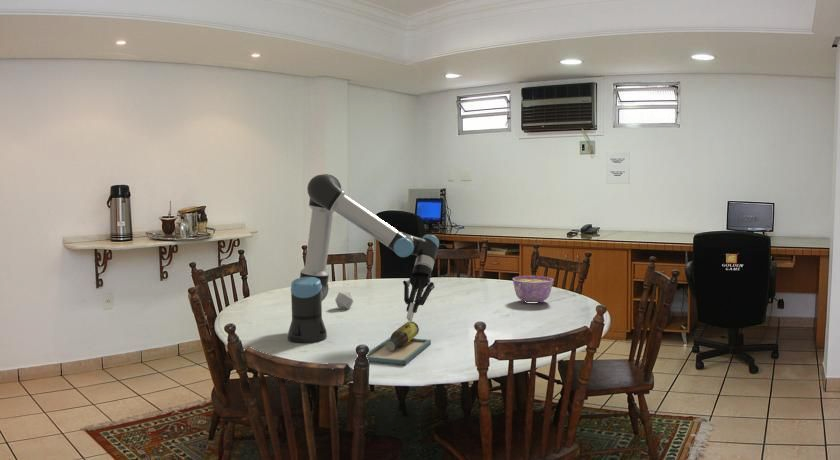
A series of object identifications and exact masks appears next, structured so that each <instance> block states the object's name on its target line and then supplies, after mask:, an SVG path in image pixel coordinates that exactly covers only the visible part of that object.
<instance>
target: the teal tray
mask: <svg viewBox="0 0 840 460" xmlns="http://www.w3.org/2000/svg"><path fill="white" fill-rule="evenodd" d="M390 339H391V336H389V338H387V339H386V340H384V341H383V342H381V343H379V344H378V345H376V346H375V347H374V348H372V349H370V350H369V351H368V352H369V354H368V355H367V358H368V360H369V362H368V363H372V364H379V365H380V364H381V365H391V366H392V365H393V366H401V367H402V366H403V367H405V366H407V365H408V364H409V363H410V362H412V361H413V360H414V359H415V358H416V357H418V356H419V355H420V354H421V353H422V352H424V351H425V350H426V349H427V348H428V347H429V346H430V345H431V344H432V342H431V341H432V340H431V339H425V338H415V337H414V338H413V339H412V340H410V341H409V342H408V343H407V344H405V345H404V346H402V347H396V349H395V350H393V351H388V350H387V349H386V347H385V343H386V342H387V341H388V340H390Z"/></svg>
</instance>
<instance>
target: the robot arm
mask: <svg viewBox="0 0 840 460" xmlns="http://www.w3.org/2000/svg"><path fill="white" fill-rule="evenodd" d="M306 190H307V194H308V197H309V202H308V203H309V204H308V207H310V209H311V218H310V223H309V224H310V225H309V234H308V241H307V248H306V256H305V263H304V267H303V268H302V269H300V274H299V278H295V279H294V280H293V281H292V282H291V284H290V294H291V295H290V297H291V298H290V299H291V322H290V326H289V328H288V332H287V340H288V341H290V342H292V343H300V344H303V343H305V344H306V343H307V344H308V343H317V342H320V341H324V340H326V339H327V337H328V336H327V335H328V334H327V333H328V332H327V329H326V327H325V322H324V320H323V315H322V314H323V311H322V309H323V308H322V305H323V303H322V302H323V301H324V300H325V299H326V297H327V296H328V293H329V272H328V271H327V264H328V263H327V262H328V256H329V255H328V254H329V247H330V242H331V241H330V240H331V232H332V224H333V215H334V213H336V214H338V215H340V216H341V217H342V218H344V219H346V220H347V221H348V222H350V223H351V224H353V225H355V226H356V227H358V229H360V230H362V231H364V233H366V234H368V235H370V236H371V237H372V238H373V239H375V240H376V241H378V242H380V243H382V244H383V245H384V246H386V247H387V248H388V249H390V250H392V252H394V253H395V254H396V255H397V256H398V257H400V258H406V257H407V258H408V257H409V256H410V255H412V256H416V258H415V262H414V266H413V269H412V272H411V276H410V278H409V279H408V280H403V281H402V284H403V285H404V286H403V287H404V290H403V292H404V293H403V297H404V298H403V299H404V300H403V301H404V302H405V304H406V312H407V314H406V319H407V322H410V321H412V322H413V319H414V315H415V314H416V313H417V311H418V309H419V306H424V305H425V303H426V301H427V299H428V297H429V295H430V294H431V292H432V290H434V289H435V284H434V282H433V281H431V277H432V272H433V269H434V265H435V262H436V258H437V254H438V251H439V247H440V240H439V239H438V237H437V236H436V235H432V234H425V235H423V236H422V237H418V236H414V235H411V234H408V233H405V232H403V231H399V230H397V229H396V228H395V227H393V226H391V225H390V224H389V223H388V222H385V221H384V220H383V219H381V218H380V217H379V216H377V215H376V214H374V213H373V212H371V211H370V210H368V209H366V208H365V207H364V206H362V205H361V204H359V203H358V202H357V201H355V200H354V199H352V198H351V197H349V196H347V195H346V192H345V190H343V189H342V185H341V183H340V180H339V179H338V178H336V177H335V176H334V175H332V174H329V173H323V174H317V175H315V176H312V178H311V179H310V180H309V182H308V184H307V189H306ZM410 285H411V289H410V288H409V287H410Z"/></svg>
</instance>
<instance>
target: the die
mask: <svg viewBox="0 0 840 460" xmlns="http://www.w3.org/2000/svg"><path fill="white" fill-rule="evenodd" d="M334 300H335V303H336V305H337V308H338V310H350V309H351V307H352V305H353V303H354V300H353V297H352V294H351V292H349V291H343V292H341V291H339V292H338V294H337V295H336V297H335V299H334Z"/></svg>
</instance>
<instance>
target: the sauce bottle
mask: <svg viewBox="0 0 840 460" xmlns="http://www.w3.org/2000/svg"><path fill="white" fill-rule="evenodd" d="M419 331H420V327H419V325H418V324H417V323H416V322H414V321H413V320H412V321H406V322H405V323H404V324H403V325H401V326H400V327H398V328H397V329H396V330H395V331H393V332H392V334H391V336H390V337H391V339H390V340H388V341H387V342H386V343H385V347H386V349H387V350H388V351H393V350H395V349H396V347H402V346H404V345H405V344H407V343H408V342H409V341H410V340H412V339H413V338H415V337H416V336H417V335H418V334H419Z"/></svg>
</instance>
